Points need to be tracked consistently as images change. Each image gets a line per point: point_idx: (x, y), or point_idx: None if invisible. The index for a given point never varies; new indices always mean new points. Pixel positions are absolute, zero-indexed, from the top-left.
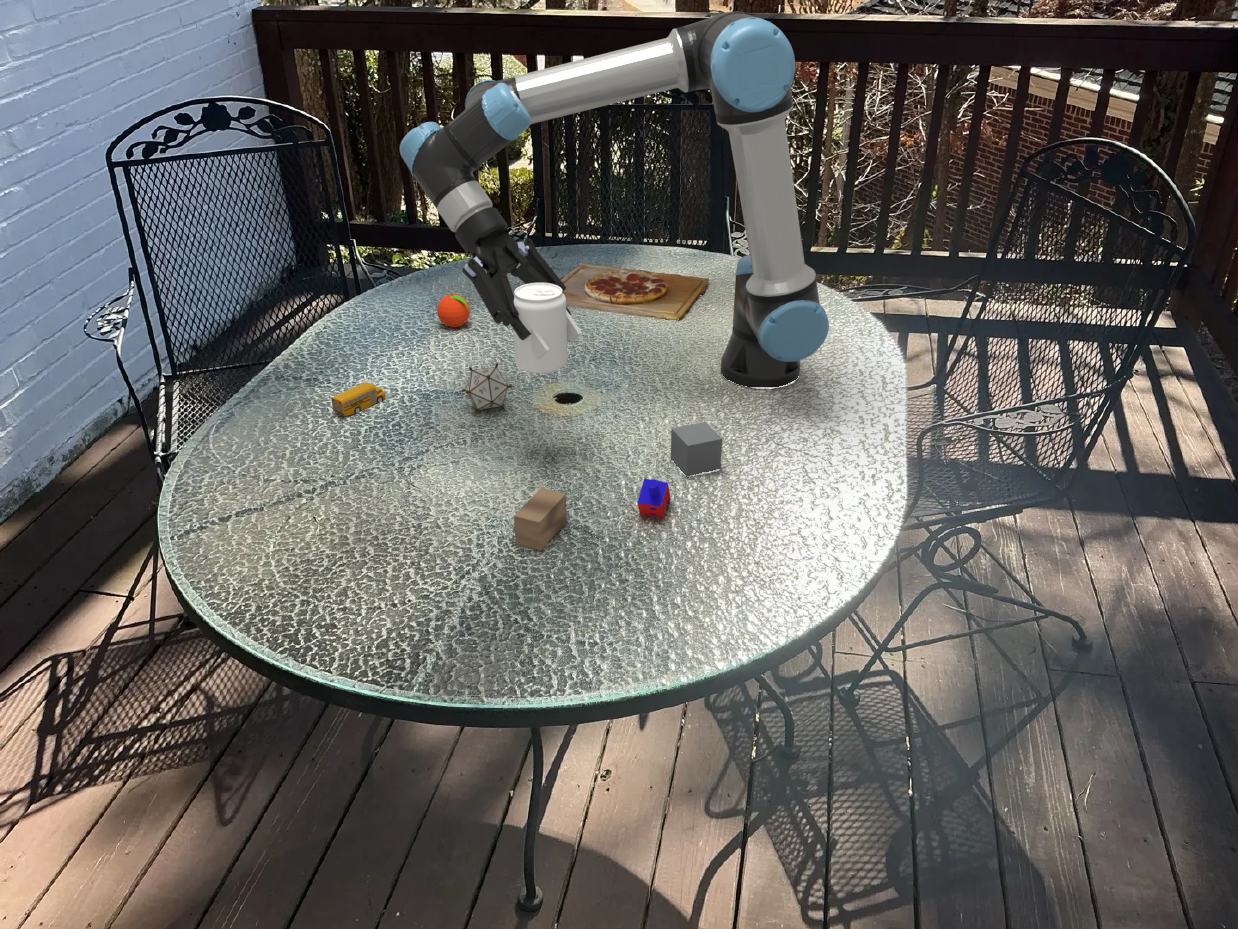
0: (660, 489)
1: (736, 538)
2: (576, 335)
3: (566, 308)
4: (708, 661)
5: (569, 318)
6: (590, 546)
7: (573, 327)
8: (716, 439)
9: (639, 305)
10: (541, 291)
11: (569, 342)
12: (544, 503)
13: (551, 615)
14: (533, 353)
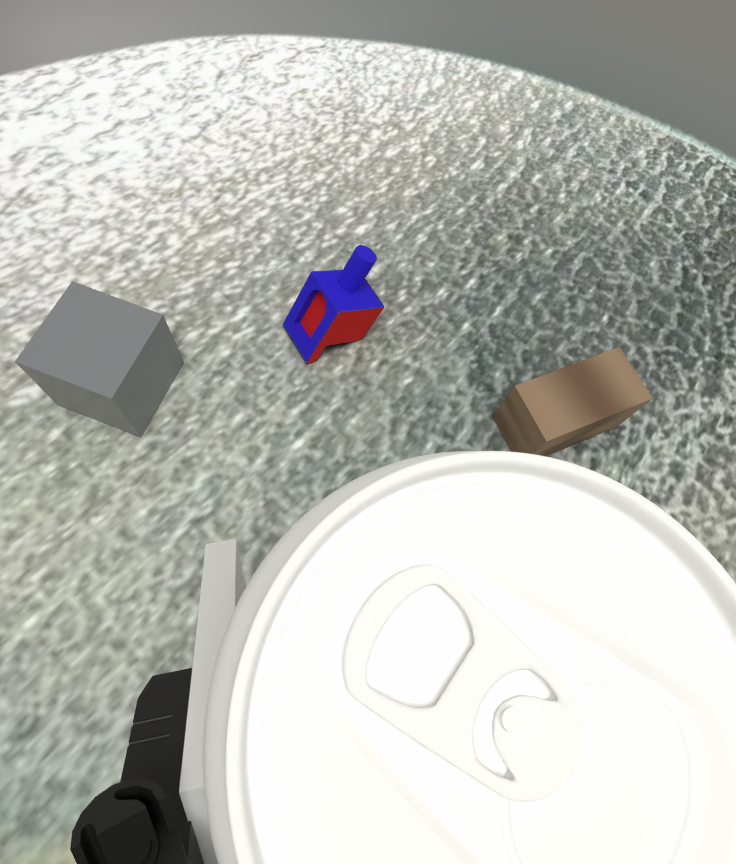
0: (332, 279)
1: (287, 189)
2: (239, 562)
3: (148, 726)
4: (526, 84)
5: (222, 617)
6: (503, 332)
7: (237, 575)
8: (85, 288)
9: None
10: (448, 763)
11: None
12: (574, 389)
13: (653, 256)
14: None
